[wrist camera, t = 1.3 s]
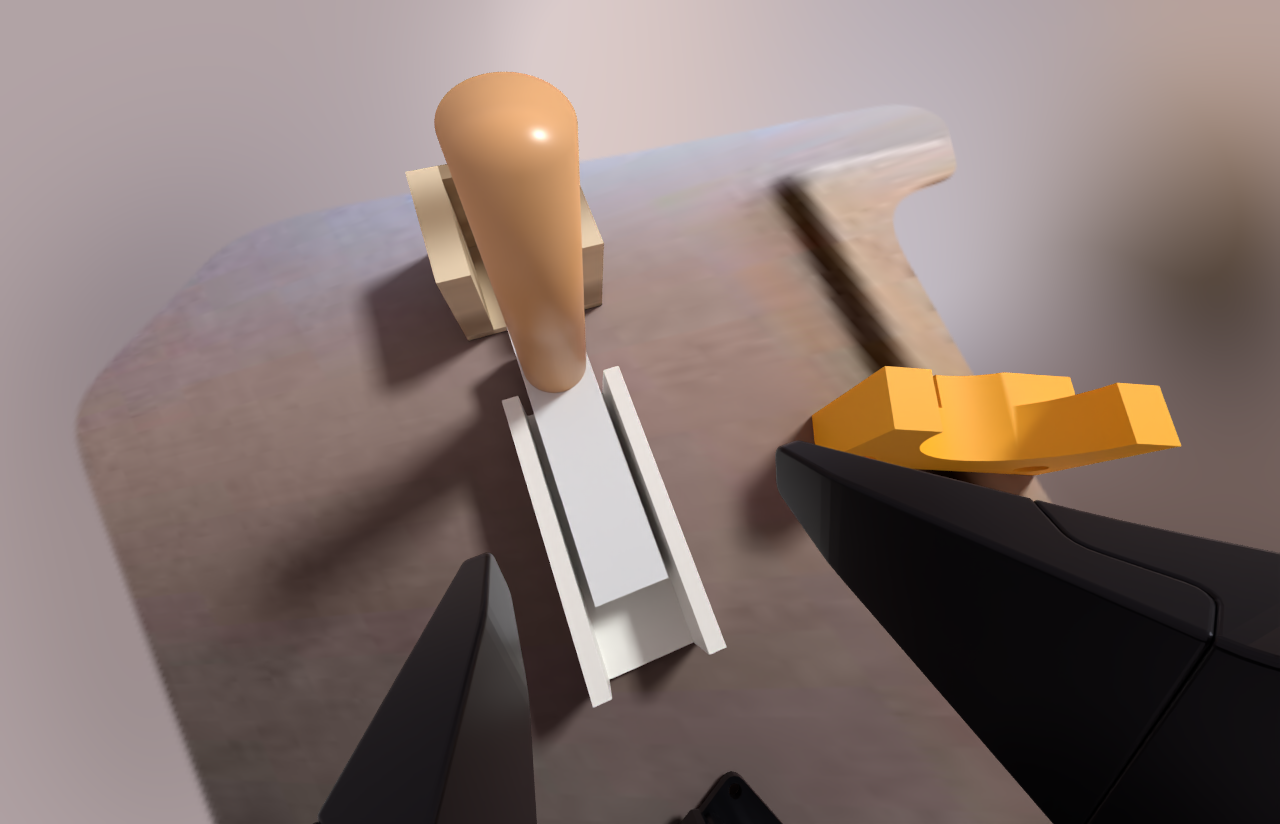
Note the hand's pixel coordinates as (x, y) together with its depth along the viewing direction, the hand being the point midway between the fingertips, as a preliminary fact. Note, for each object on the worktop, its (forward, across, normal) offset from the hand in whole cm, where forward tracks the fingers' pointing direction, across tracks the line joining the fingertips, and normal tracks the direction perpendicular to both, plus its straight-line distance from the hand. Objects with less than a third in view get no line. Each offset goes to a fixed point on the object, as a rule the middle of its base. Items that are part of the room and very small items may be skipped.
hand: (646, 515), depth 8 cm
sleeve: (+10, 0, +9) cm, 14 cm away
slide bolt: (+12, 0, +6) cm, 14 cm away
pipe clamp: (+10, -17, +10) cm, 22 cm away
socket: (+20, 0, -1) cm, 20 cm away
